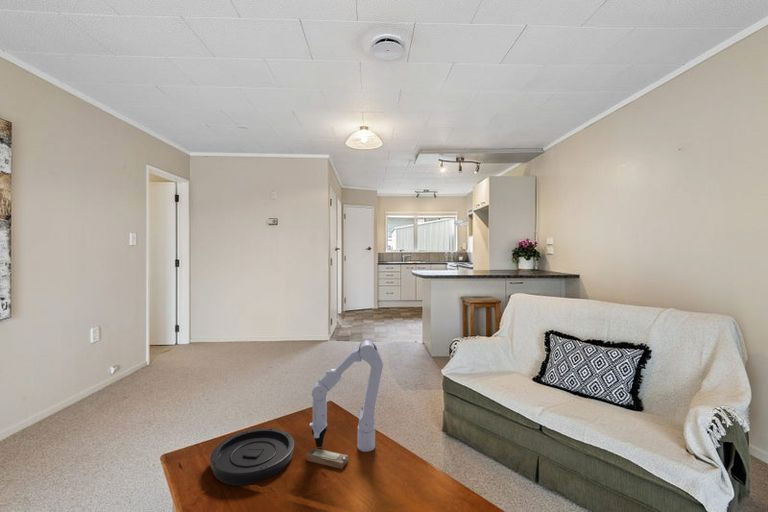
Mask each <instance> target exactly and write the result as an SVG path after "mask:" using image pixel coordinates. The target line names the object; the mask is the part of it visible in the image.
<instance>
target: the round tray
mask: <svg viewBox="0 0 768 512" xmlns="http://www.w3.org/2000/svg"><path fill="white" fill-rule="evenodd" d="M294 448H295V439H294V438H293V436H292V435H291V434H289V433H288V432H286V431H284V430H281V429H277V428H255V429H249V430H245V431H242V432H239V433H237V434H234V435H231V436H229V437H227V438H225V439H224V440H222V441H221V442H219V444H218V445H217V446H216V447H214V449H213V450H212V452H211V454H210V458H209V461H210V468H211V471H212V473H213V475H214V477H215V478H216V479H217V480H218V481H220V482H221V483H222V484H226V485H229V486H238V487H241V486H243V487H245V486H250V485H253V483H256V482H259V481H264V480H267V479H269V478H271V477H272V476H275V475H277V474H278V473H279V472H281V471H282V470H283V469H284V468H286V467H287V465H288V464H289V463H290V462H291V460H292V457H293V454H294V450H295V449H294Z"/></svg>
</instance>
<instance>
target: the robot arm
mask: <svg viewBox="0 0 768 512" xmlns="http://www.w3.org/2000/svg"><path fill="white" fill-rule="evenodd" d="M362 360H363V361H364V362H365V363H368V364H369V366H370V371H369V376H368V380H367V385H366V390H365V394H364V400H363V403H362V407H361V408H360V410H359V411H358V425H357V450H359V451H361V452H363V453H365V452H367V453H368V452H372V451H373V450H375V448H376V424H375V419H374V416H375V409H376V408H375V407H376V401H377V396H378V392H379V387H380V383H381V378H382V373H383V369H384V368H383V367H384V362H383V359H382V357H381V354H380V352H379V349H378V348H377V345H376V344H375V343H374V342H373V341H372V340H371V339H364V340H362V341H360V344H357V345H356V346H355V347H354V348H353V349H352V350H351V352H350V353H348V354H347V356H346V357H345V358H344V359H343V360H342V361H341V362H340V364H338V366H337V367H336V368H331V369H330V370H329V369H327V371H326V372H325V374H324V376H323V377H322V378H321V379H320V378H319V379H318V380H317V382H316V383H315V384H314V385H313V388H312V391H311V396H312V422H310V423H309V426H308V427H311V428H312V430H311V434H312V436H313V439H314V441H315V447H316V448H322V446H323V443H324V439H325V435H326V432H327V429H328V421H327V420H328V416H327V415H328V410H327V409H328V404H327V403H328V400H327V394H328V392H330V391H331V390H332V389H333V388H334V387H335V386H336V385H337V384H338V383H339V382H340V381H341V379H342V374H343V373H344V372H346V371H347V370H348V369H350V367H351V366H352V365H353V364H354V363H357V362H358V363H359V362H360V363H361V362H362Z"/></svg>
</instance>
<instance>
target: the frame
mask: <svg viewBox="0 0 768 512" xmlns="http://www.w3.org/2000/svg"><path fill="white" fill-rule="evenodd" d="M306 461H308V462H311V463H315V464H320V465H323V466H329V467H332V468H337V469H342V470H343V469H344V467H345V466H346V464H347V463H348V462H349V455H348V454H345V453H343V454H342V453H339V452H336V451H335V452H334V451H330V450H326V449H320V448H318V447H313V448H311V450H310V451H309V452H308V453H307V454H306Z"/></svg>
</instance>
